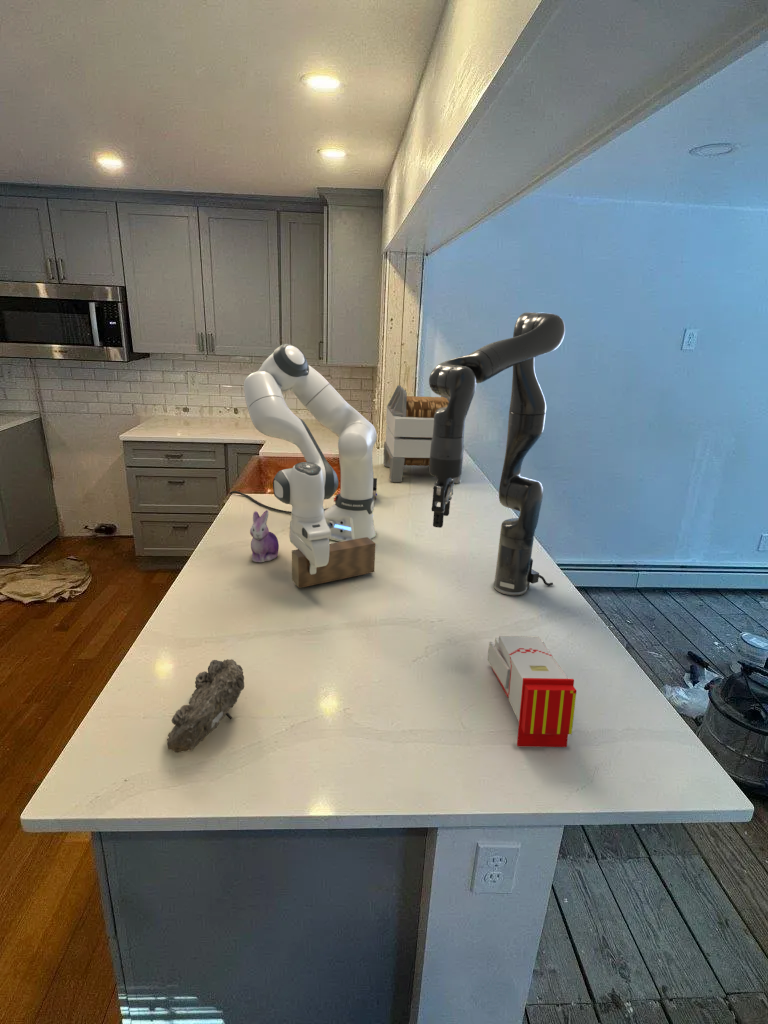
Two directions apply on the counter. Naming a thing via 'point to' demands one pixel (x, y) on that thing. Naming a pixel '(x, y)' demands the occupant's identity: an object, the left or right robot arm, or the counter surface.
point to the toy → (534, 690)
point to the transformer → (410, 431)
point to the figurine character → (374, 487)
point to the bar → (336, 563)
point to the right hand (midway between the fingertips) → (441, 520)
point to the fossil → (206, 705)
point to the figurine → (262, 539)
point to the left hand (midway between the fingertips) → (307, 568)
